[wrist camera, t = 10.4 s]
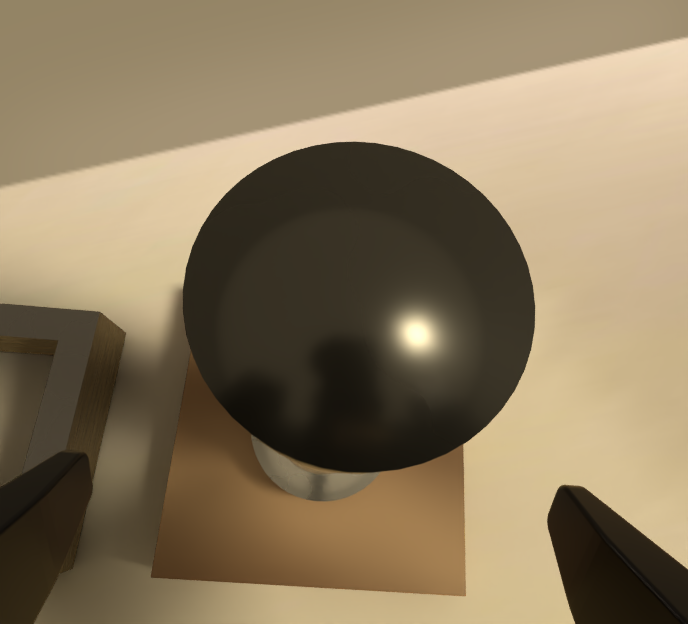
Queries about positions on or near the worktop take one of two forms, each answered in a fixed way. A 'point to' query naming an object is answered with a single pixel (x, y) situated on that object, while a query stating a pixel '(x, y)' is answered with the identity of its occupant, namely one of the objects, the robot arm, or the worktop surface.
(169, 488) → the walnut pad
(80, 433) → the holder
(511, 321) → the capped metal cylinder
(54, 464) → the robot arm
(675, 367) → the worktop surface
